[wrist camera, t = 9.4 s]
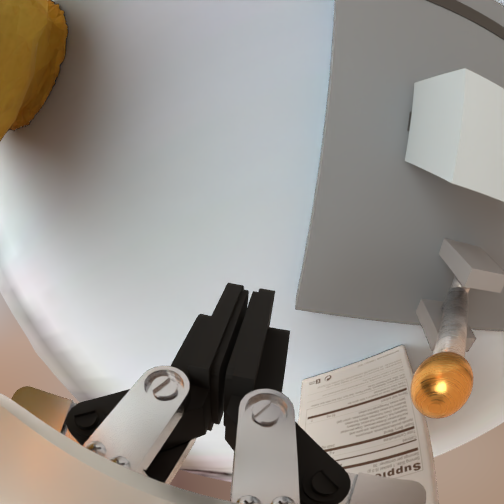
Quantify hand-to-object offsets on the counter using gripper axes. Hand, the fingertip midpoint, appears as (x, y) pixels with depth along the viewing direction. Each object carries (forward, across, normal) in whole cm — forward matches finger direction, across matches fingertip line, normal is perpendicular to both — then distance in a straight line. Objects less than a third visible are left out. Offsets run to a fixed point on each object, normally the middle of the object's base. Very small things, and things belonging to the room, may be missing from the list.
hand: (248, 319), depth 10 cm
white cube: (+5, -8, -8) cm, 13 cm away
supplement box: (+8, -10, +12) cm, 18 cm away
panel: (+7, -11, -8) cm, 15 cm away
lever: (+4, -11, 0) cm, 12 cm away
